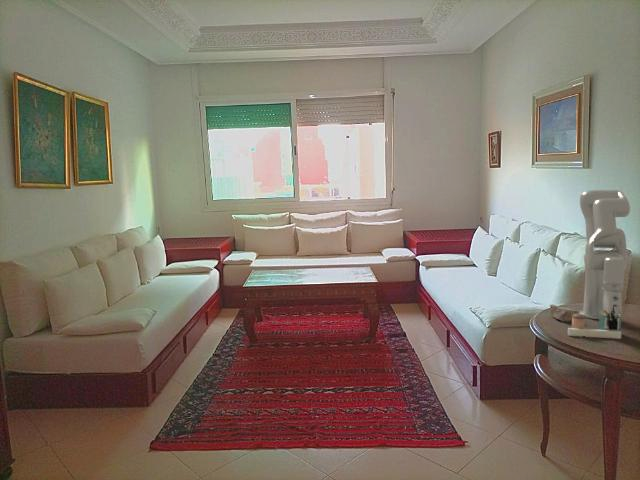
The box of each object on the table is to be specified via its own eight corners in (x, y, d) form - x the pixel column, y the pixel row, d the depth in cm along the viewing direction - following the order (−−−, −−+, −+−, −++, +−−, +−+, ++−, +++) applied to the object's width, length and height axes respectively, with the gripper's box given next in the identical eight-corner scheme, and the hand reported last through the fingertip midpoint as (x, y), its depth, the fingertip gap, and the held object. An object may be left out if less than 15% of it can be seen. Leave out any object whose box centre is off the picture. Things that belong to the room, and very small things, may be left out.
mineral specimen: (546, 319, 232) (546, 306, 231) (551, 315, 237) (551, 302, 236) (575, 324, 224) (575, 311, 223) (579, 320, 229) (580, 307, 228)
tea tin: (598, 331, 214) (599, 310, 213) (616, 332, 212) (618, 311, 211) (601, 335, 209) (602, 314, 208) (620, 336, 207) (622, 315, 206)
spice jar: (569, 330, 216) (570, 313, 215) (583, 331, 215) (584, 313, 214) (572, 334, 211) (573, 316, 210) (585, 335, 210) (586, 317, 209)
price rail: (567, 334, 212) (568, 327, 211) (620, 337, 206) (620, 330, 206) (568, 335, 210) (568, 329, 210) (621, 338, 205) (621, 332, 204)
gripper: (629, 292, 198) (626, 333, 201) (616, 281, 214) (613, 319, 217) (608, 291, 200) (605, 332, 203) (597, 280, 216) (594, 318, 219)
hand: (610, 325), depth 210 cm, fingers open, 7 cm apart
